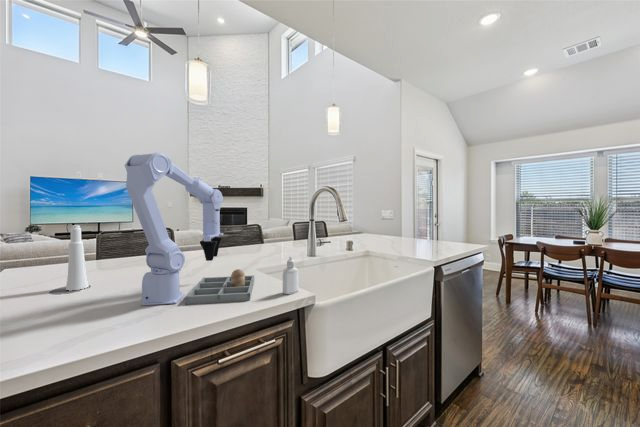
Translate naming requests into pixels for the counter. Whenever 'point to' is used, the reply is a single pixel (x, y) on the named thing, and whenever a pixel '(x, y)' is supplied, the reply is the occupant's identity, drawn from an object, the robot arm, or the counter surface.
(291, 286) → the eye dropper bottle
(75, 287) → the cosmetic bottle
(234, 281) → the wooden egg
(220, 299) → the grey compartment tray
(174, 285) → the robot arm
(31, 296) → the counter surface
